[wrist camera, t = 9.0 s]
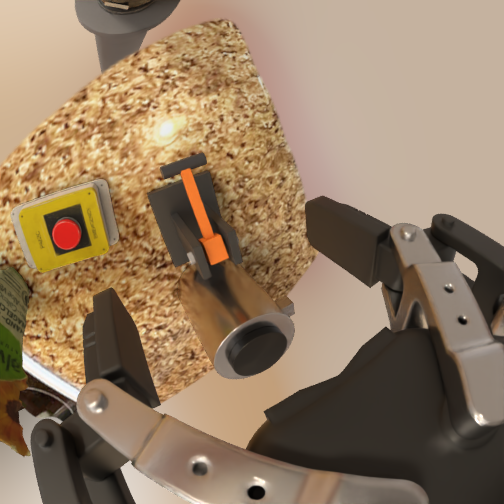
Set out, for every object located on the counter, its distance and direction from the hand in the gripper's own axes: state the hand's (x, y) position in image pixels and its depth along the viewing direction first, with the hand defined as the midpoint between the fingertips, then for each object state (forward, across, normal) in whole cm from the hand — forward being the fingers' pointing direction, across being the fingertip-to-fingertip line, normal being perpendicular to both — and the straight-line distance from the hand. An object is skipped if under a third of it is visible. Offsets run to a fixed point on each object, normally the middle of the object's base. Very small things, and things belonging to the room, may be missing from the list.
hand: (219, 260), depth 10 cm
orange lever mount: (+28, -4, +11) cm, 30 cm away
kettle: (+28, -5, +25) cm, 38 cm away
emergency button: (+28, +13, +4) cm, 31 cm away
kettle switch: (+20, -4, +7) cm, 22 cm away
